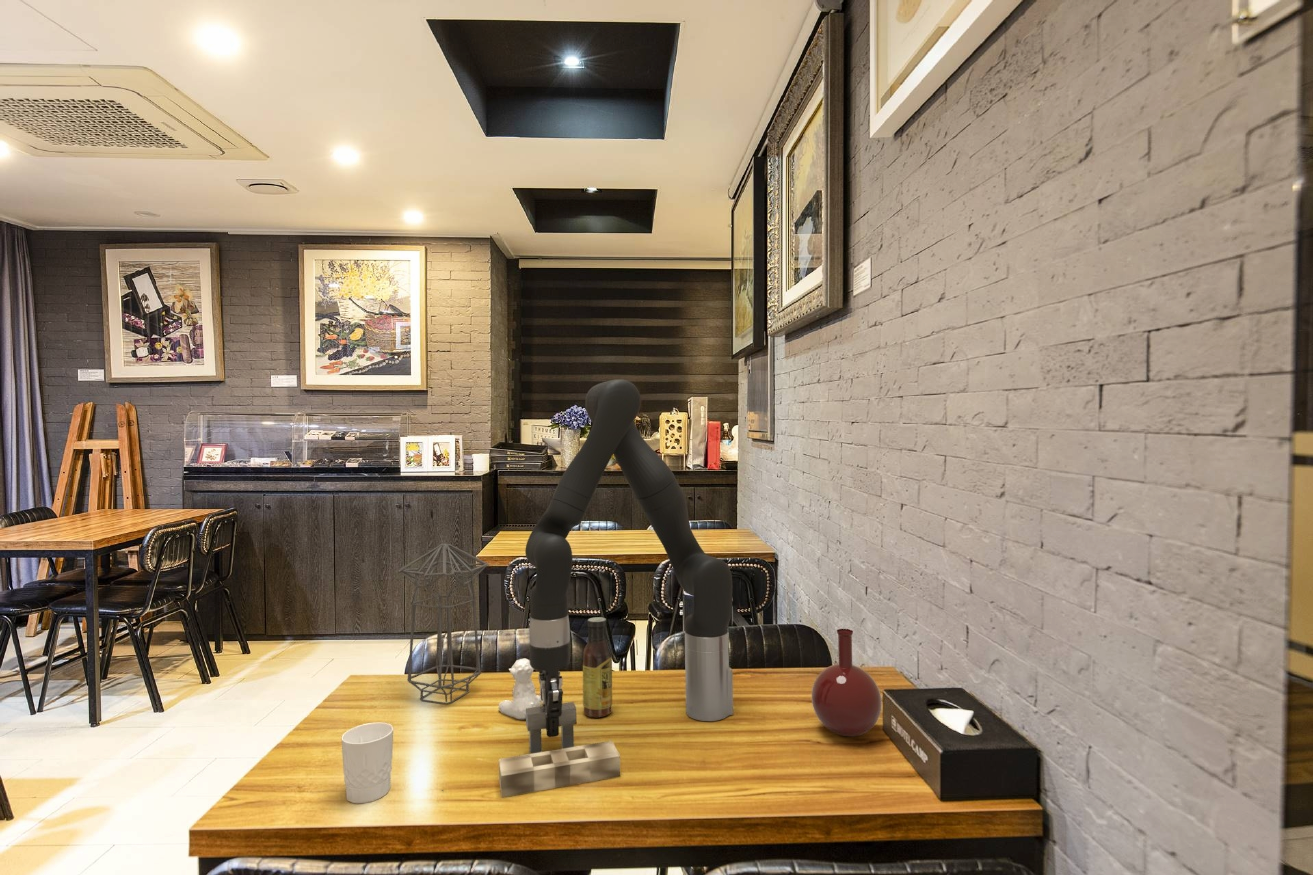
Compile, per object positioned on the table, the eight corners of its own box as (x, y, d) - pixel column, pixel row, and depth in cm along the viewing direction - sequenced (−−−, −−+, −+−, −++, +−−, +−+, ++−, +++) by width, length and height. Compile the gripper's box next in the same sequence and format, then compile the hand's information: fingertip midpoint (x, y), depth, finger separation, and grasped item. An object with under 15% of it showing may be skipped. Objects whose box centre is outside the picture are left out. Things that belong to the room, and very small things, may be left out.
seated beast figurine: (540, 702, 143) (539, 648, 143) (551, 716, 135) (550, 659, 135) (497, 710, 139) (497, 655, 139) (506, 726, 131) (505, 667, 131)
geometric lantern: (393, 703, 143) (393, 547, 145) (442, 681, 158) (441, 538, 159) (449, 713, 137) (448, 549, 139) (495, 688, 152) (493, 540, 153)
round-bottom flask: (815, 715, 134) (813, 619, 134) (882, 723, 129) (880, 624, 130) (808, 743, 121) (806, 637, 122) (882, 753, 117) (880, 644, 117)
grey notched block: (574, 743, 123) (573, 701, 123) (577, 750, 120) (576, 707, 120) (526, 751, 120) (525, 708, 120) (528, 758, 117) (527, 714, 117)
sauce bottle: (607, 720, 133) (606, 624, 133) (579, 718, 134) (577, 623, 134) (616, 707, 139) (614, 615, 140) (588, 705, 141) (587, 614, 141)
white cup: (353, 781, 110) (352, 723, 110) (400, 778, 111) (399, 720, 111) (334, 807, 102) (333, 744, 103) (384, 804, 103) (384, 741, 103)
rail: (612, 759, 116) (611, 740, 116) (620, 776, 111) (620, 755, 111) (499, 779, 110) (498, 758, 110) (501, 797, 104) (501, 775, 105)
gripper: (576, 648, 115) (578, 745, 114) (563, 627, 128) (565, 713, 128) (534, 653, 112) (535, 752, 112) (525, 631, 126) (527, 719, 126)
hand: (551, 731), depth 120 cm, fingers closed on grey notched block, 3 cm apart
